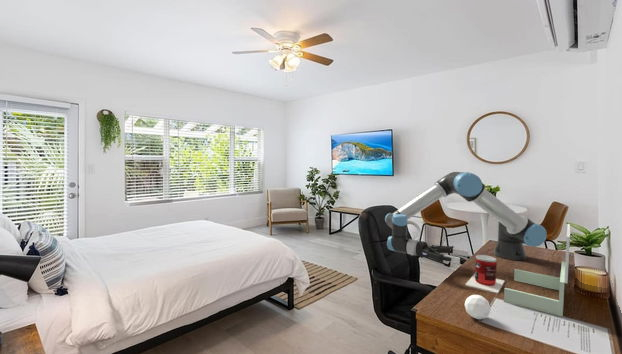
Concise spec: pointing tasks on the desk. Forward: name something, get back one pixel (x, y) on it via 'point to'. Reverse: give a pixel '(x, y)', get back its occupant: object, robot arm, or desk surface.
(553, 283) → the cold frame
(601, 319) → the desk surface
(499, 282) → the tile pad
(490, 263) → the canned food
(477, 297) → the ball
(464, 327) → the desk surface
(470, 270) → the desk surface
